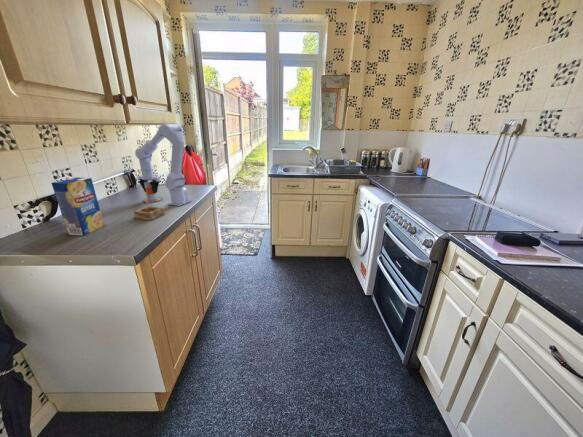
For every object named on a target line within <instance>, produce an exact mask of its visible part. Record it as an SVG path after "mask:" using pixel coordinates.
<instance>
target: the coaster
mask: <svg viewBox="0 0 583 437" xmlns="http://www.w3.org/2000/svg"><path fill="white" fill-rule="evenodd" d="M161 200H162V199H161V197H157V200H154V201H148V200H147V198H144V199H143V202H144V203H148V204H149V203H157V202H160V201H161Z"/></svg>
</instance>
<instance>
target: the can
mask: <svg viewBox="0 0 583 437" xmlns="http://www.w3.org/2000/svg"><path fill="white" fill-rule="evenodd" d="M150 182H152V181H149V180H148V181H146V182H144V185H145V190H146V192H145V194H146V199H147V200H148V201H154V200H157V198H158V196H157V193H154V192H153V189H152V186H151V184H150Z"/></svg>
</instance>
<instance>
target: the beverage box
mask: <svg viewBox="0 0 583 437" xmlns="http://www.w3.org/2000/svg"><path fill="white" fill-rule="evenodd" d="M51 186H52V189H53V193H54V195H55V198H56V201H57V204H58V207H59V211H60V214H61V216H62V219H63V223H64V226H65V228H66V231H67V234H68V236H86V235H88V234H90V233H92V232H95V231H96V230H98V229H100V228H103V227H105V223H104V220H103V216H102V212H101V208H100V204H99V201H98V197H97V193H96V191H95V190H96V189H95V186H94V182H93V179H92V177H76V176H75V177H71V178H67V179H63V180H58V181H54V182H51Z"/></svg>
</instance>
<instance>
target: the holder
mask: <svg viewBox="0 0 583 437" xmlns="http://www.w3.org/2000/svg"><path fill="white" fill-rule="evenodd" d="M133 215H134V219H137V220H144V221H152V220H154V219H157V218H159V217H162V216H164V215H165V212H164V208H163V207H157V206H148V205H147V206H145V207H143V208H139V209H136V210H134V211H133Z"/></svg>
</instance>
